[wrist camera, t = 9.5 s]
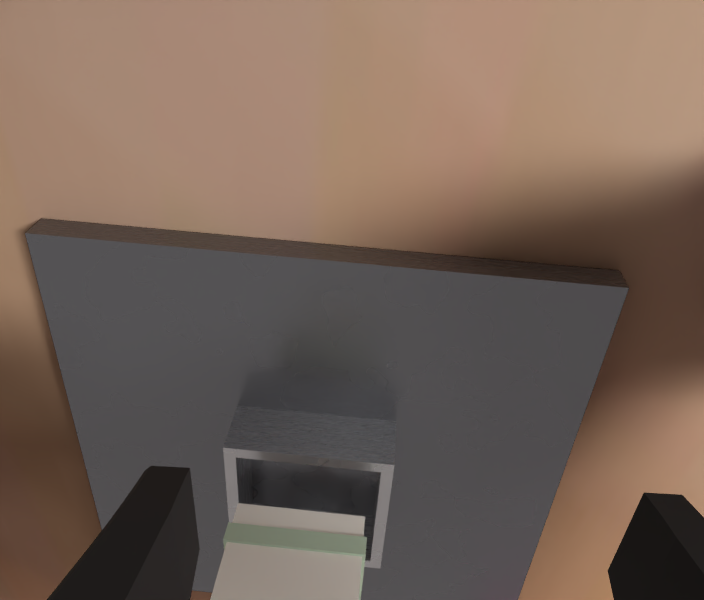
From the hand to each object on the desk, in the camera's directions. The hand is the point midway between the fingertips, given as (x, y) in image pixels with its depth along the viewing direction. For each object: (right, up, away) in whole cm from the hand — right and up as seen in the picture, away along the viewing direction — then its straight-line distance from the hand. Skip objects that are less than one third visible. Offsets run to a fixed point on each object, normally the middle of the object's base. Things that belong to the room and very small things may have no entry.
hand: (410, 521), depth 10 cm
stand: (-2, -2, +14) cm, 15 cm away
